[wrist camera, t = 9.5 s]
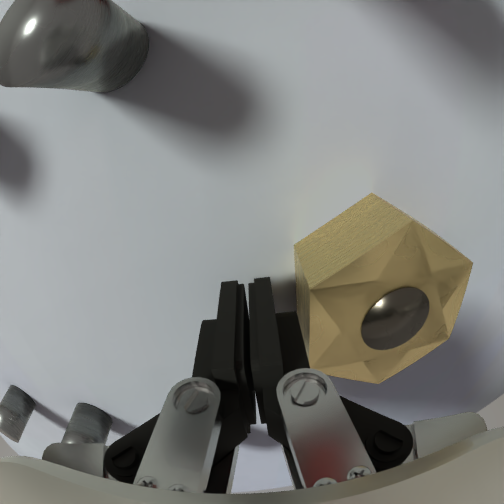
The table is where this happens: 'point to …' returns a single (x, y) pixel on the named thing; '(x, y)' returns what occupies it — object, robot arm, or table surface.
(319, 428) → the robot arm
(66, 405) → the table surface
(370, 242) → the brass nut
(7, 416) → the posts
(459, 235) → the table surface
